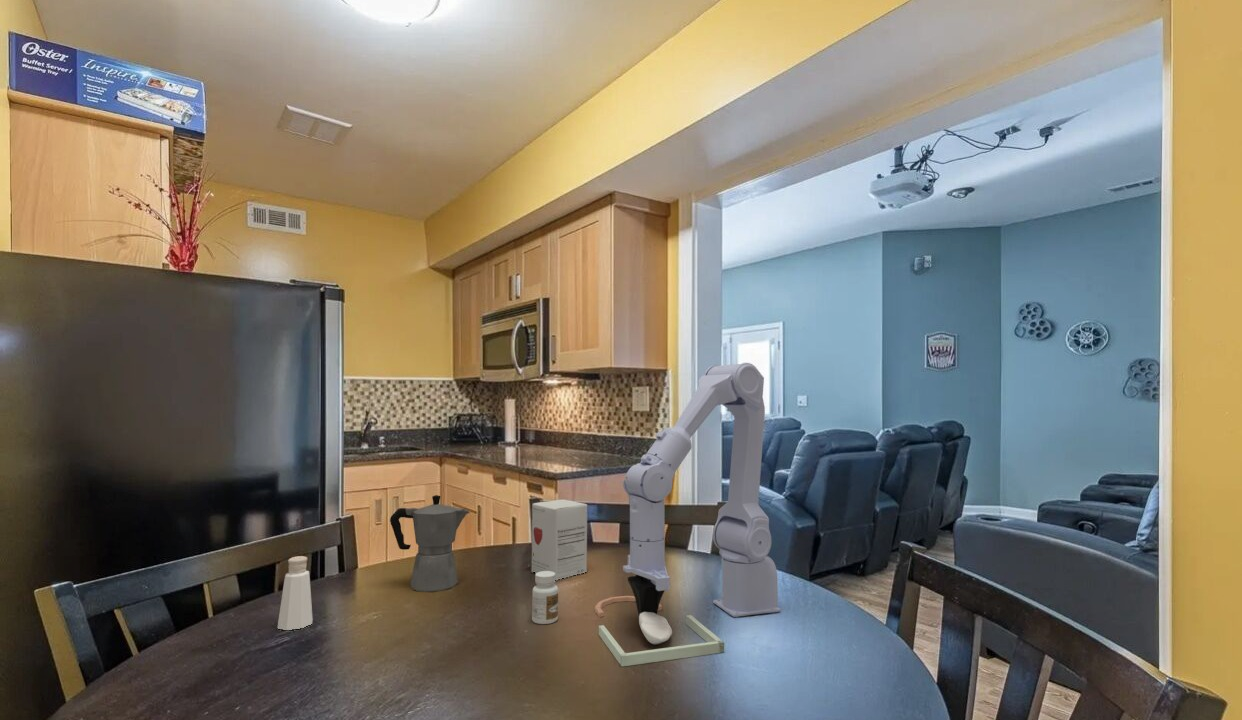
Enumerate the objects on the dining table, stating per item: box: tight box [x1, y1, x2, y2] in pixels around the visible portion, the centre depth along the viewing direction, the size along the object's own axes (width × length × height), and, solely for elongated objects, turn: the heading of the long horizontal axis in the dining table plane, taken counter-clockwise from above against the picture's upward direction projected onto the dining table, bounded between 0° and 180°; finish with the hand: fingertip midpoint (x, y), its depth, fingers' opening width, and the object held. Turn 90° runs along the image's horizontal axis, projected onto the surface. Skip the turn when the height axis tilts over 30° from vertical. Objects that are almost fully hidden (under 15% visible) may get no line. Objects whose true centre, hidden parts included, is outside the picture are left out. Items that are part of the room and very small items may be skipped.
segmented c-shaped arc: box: [594, 595, 663, 618], centre depth 108 cm, size 12×7×1 cm, turn 108°
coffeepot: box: [389, 494, 470, 593], centre depth 121 cm, size 15×9×18 cm, turn 102°
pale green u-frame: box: [598, 614, 725, 667], centre depth 91 cm, size 16×12×1 cm
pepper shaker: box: [276, 555, 313, 630], centre depth 99 cm, size 5×5×11 cm
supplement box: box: [531, 498, 588, 581], centre depth 130 cm, size 9×9×15 cm
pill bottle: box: [531, 571, 559, 625], centre depth 101 cm, size 4×4×8 cm
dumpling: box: [638, 612, 673, 645], centre depth 92 cm, size 7×5×4 cm
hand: (647, 623), depth 96 cm, fingers closed
